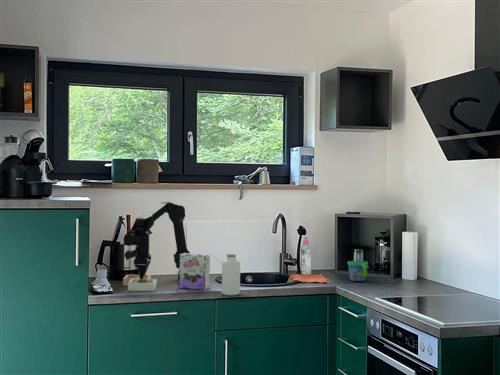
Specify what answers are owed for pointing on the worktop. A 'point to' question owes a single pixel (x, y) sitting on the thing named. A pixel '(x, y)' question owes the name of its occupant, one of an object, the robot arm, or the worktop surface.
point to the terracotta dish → (129, 277)
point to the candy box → (194, 271)
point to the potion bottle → (231, 275)
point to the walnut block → (143, 281)
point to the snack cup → (357, 270)
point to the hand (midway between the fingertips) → (142, 277)
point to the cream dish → (142, 285)
